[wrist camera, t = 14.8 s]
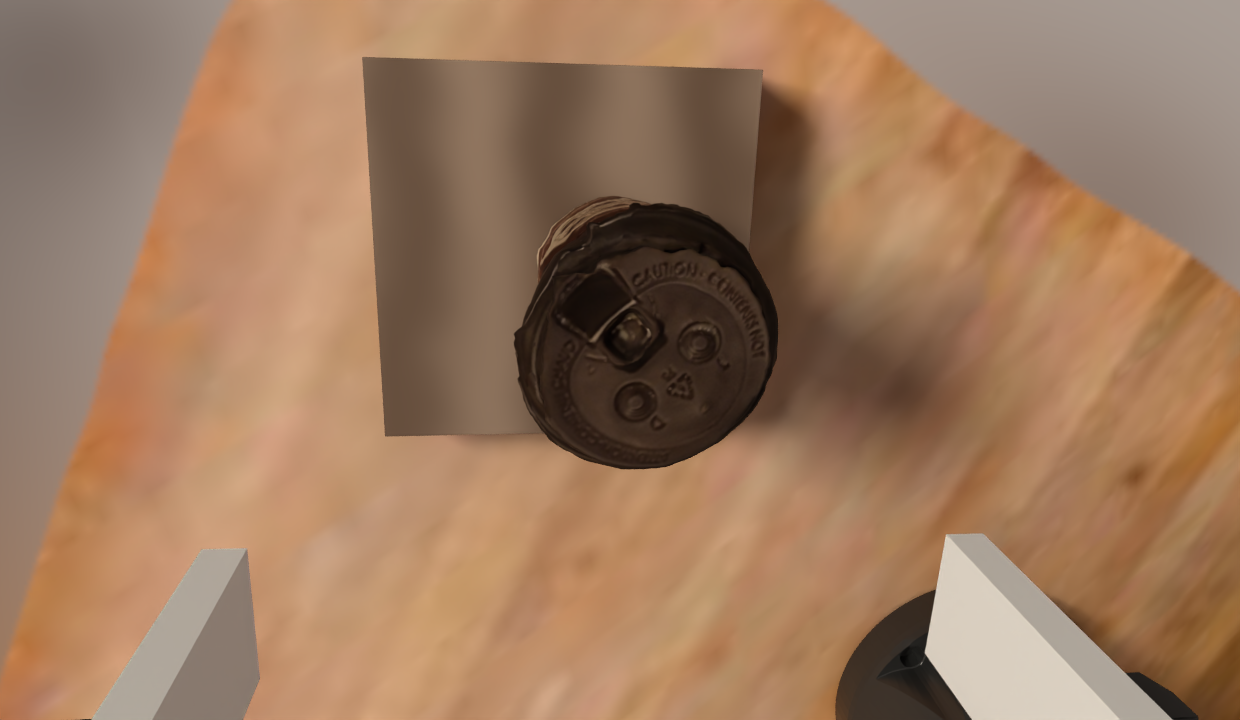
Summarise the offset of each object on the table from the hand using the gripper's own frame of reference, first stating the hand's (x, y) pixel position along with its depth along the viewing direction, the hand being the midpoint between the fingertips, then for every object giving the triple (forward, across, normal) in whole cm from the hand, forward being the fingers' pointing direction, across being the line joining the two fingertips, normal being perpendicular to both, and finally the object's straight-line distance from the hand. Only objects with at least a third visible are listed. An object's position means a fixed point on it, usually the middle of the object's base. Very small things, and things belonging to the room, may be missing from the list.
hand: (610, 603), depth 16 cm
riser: (+27, 0, -2) cm, 27 cm away
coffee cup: (+23, -2, -2) cm, 23 cm away
